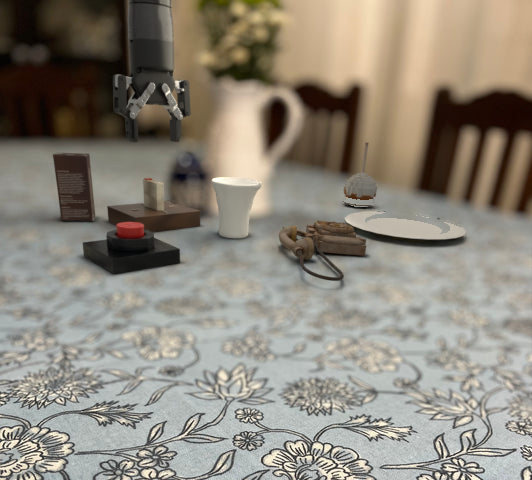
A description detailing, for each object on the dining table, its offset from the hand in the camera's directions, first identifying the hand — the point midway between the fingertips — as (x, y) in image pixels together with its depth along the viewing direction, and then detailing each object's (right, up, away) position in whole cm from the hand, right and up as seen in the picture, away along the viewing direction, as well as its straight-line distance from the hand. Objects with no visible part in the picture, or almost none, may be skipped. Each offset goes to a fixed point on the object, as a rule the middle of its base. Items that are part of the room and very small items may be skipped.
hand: (154, 141), depth 95 cm
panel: (-1, -13, +6) cm, 15 cm away
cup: (+15, -17, +3) cm, 22 cm away
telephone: (+30, -22, -6) cm, 38 cm away
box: (-16, -13, +6) cm, 22 cm away
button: (0, -21, -17) cm, 27 cm away
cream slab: (-1, -11, +5) cm, 12 cm away
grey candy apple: (+44, -1, +37) cm, 57 cm away
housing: (0, -24, -15) cm, 29 cm away
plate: (+49, -13, +14) cm, 53 cm away
